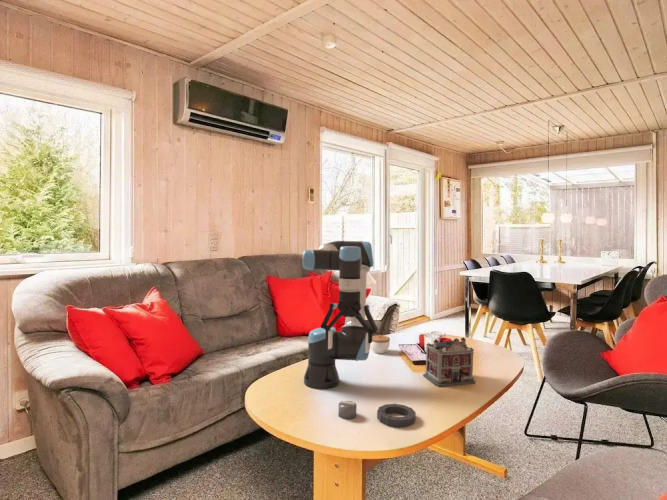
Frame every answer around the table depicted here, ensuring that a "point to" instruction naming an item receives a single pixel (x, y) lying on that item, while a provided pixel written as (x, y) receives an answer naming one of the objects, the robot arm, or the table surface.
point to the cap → (347, 410)
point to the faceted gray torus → (396, 421)
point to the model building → (449, 363)
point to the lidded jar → (380, 344)
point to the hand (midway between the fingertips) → (348, 350)
